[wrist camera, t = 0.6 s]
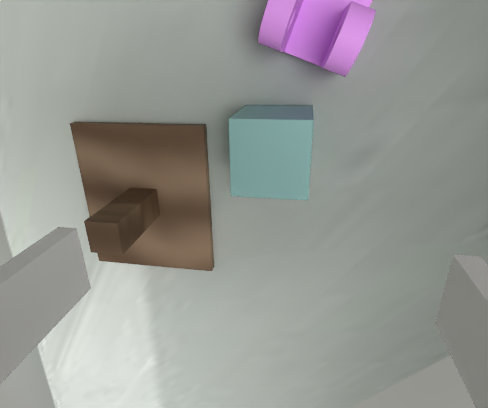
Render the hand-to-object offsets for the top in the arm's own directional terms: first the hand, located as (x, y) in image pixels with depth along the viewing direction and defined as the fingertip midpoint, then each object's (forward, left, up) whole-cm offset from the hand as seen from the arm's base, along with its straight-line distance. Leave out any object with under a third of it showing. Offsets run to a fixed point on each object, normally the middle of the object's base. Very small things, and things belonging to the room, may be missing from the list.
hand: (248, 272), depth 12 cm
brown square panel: (+5, -12, -18) cm, 22 cm away
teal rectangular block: (-1, 0, -18) cm, 18 cm away
